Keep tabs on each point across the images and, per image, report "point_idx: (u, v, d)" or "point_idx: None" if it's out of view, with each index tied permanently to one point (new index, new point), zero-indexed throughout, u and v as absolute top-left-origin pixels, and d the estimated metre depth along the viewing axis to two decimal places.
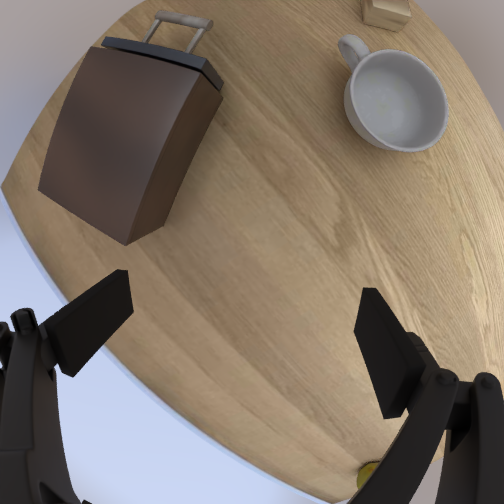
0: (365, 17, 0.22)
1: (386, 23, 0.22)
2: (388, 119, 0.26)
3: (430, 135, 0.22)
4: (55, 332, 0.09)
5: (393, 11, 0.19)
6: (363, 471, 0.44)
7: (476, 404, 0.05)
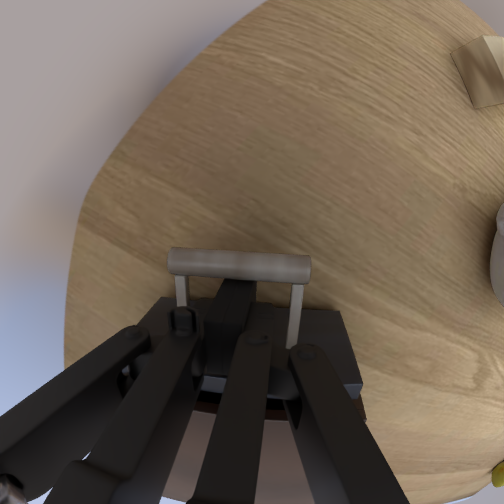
0: (481, 102, 0.13)
1: None
2: None
3: None
4: (220, 329, 0.10)
5: None
6: (495, 472, 0.28)
7: (298, 379, 0.07)
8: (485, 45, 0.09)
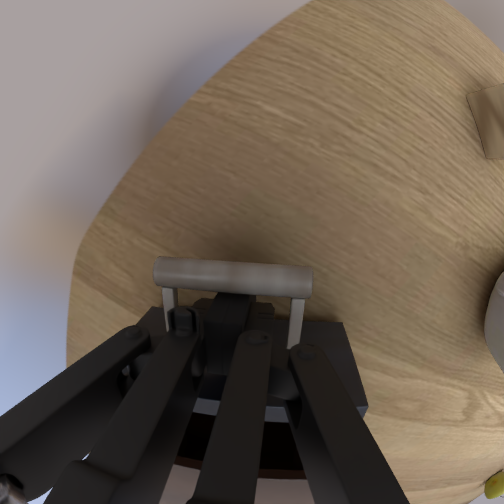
0: (494, 153, 0.13)
1: None
2: None
3: None
4: (220, 328, 0.10)
5: None
6: (488, 485, 0.27)
7: (298, 379, 0.07)
8: None
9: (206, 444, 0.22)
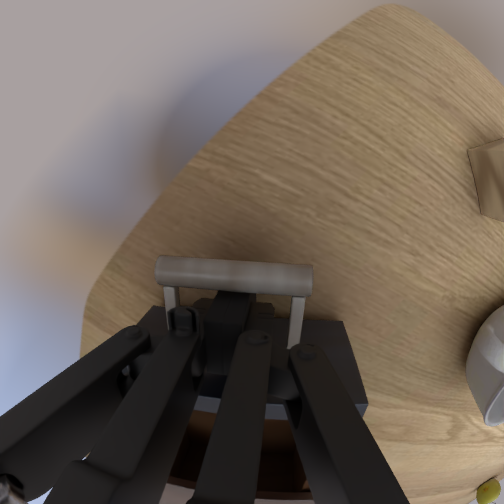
0: (490, 212, 0.14)
1: None
2: None
3: None
4: (220, 328, 0.10)
5: None
6: (480, 491, 0.29)
7: (298, 379, 0.07)
8: None
9: (207, 443, 0.22)
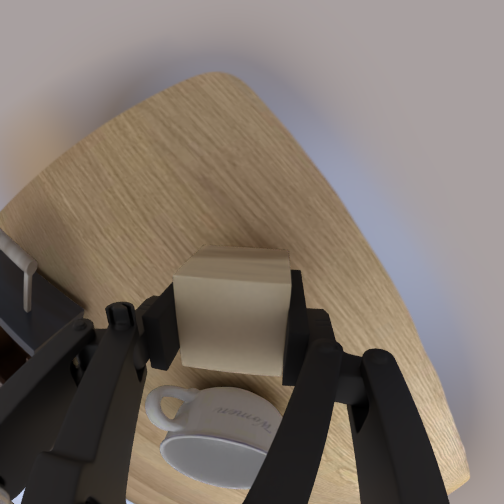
0: None
1: None
2: None
3: None
4: (157, 325, 0.10)
5: (231, 370, 0.13)
6: None
7: (369, 383, 0.07)
8: None
9: (20, 353, 0.26)
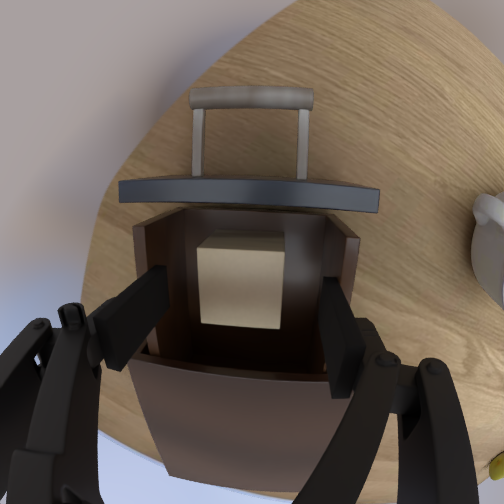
0: None
1: None
2: None
3: None
4: (106, 326, 0.10)
5: (240, 324, 0.17)
6: (492, 465, 0.30)
7: (423, 391, 0.06)
8: None
9: (212, 350, 0.24)
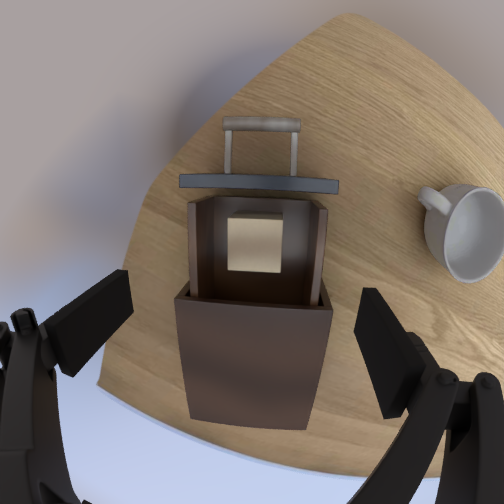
0: None
1: None
2: (456, 229, 0.28)
3: (496, 245, 0.23)
4: (55, 332, 0.09)
5: (254, 270, 0.26)
6: None
7: (476, 404, 0.05)
8: None
9: None
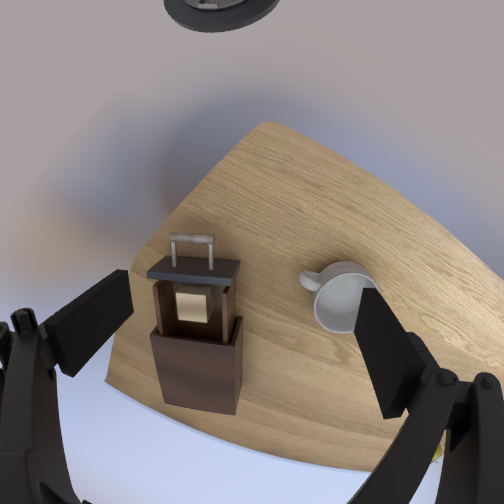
0: None
1: None
2: (346, 290, 0.46)
3: None
4: (55, 332, 0.09)
5: (192, 320, 0.44)
6: None
7: (476, 404, 0.05)
8: None
9: (186, 333, 0.51)
